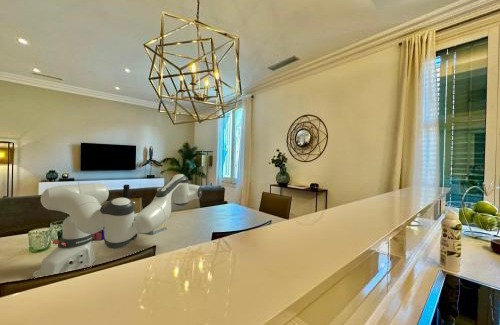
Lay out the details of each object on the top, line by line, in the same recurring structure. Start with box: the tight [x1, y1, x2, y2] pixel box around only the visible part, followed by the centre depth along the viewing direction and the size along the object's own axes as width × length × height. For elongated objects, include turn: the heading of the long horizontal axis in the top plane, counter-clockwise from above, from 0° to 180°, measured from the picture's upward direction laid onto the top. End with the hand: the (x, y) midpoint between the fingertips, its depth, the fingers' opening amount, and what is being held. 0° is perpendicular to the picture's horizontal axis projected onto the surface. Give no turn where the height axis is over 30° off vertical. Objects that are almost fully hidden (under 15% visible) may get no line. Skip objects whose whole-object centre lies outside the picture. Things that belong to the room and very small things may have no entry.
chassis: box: [147, 222, 167, 236], centre depth 153 cm, size 14×14×4 cm
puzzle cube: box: [93, 228, 104, 241], centre depth 139 cm, size 10×10×10 cm
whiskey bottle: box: [122, 184, 137, 214], centre depth 153 cm, size 10×10×32 cm
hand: (163, 188), depth 144 cm, fingers open, 8 cm apart
